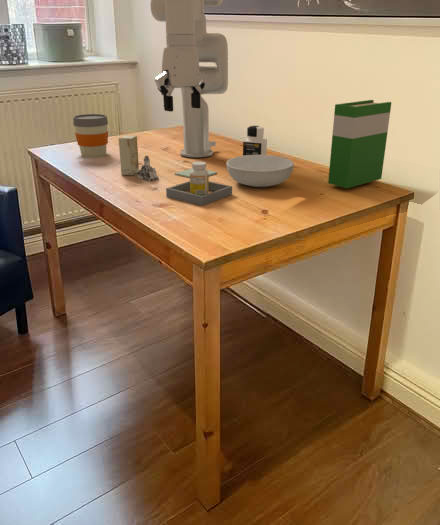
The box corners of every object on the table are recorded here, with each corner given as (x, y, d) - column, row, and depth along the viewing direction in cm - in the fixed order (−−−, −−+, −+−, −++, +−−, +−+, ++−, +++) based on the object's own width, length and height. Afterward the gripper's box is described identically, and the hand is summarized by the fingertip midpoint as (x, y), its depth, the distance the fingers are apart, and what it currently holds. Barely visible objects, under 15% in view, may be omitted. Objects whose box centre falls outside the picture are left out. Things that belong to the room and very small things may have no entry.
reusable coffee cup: (116, 158, 194) (112, 117, 188) (84, 162, 188) (79, 120, 181) (103, 152, 203) (99, 113, 197) (72, 156, 197) (67, 115, 191)
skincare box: (133, 176, 170) (130, 138, 165) (120, 175, 171) (117, 138, 166) (139, 171, 176) (137, 135, 171) (127, 170, 177) (125, 134, 172)
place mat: (194, 168, 179) (194, 167, 179) (216, 173, 173) (216, 172, 173) (174, 174, 172) (174, 173, 171) (197, 179, 166) (197, 178, 166)
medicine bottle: (242, 160, 191) (243, 127, 186) (248, 156, 197) (249, 124, 192) (260, 161, 189) (261, 128, 184) (266, 157, 195) (267, 125, 190)
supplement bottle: (200, 199, 146) (199, 166, 143) (186, 196, 150) (185, 163, 146) (212, 195, 150) (212, 162, 146) (198, 192, 153) (198, 160, 149)
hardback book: (362, 174, 172) (371, 99, 163) (381, 178, 167) (391, 102, 157) (328, 183, 162) (335, 104, 152) (346, 188, 157) (355, 107, 147)
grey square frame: (197, 186, 159) (197, 178, 158) (232, 194, 151) (232, 186, 150) (166, 196, 149) (166, 188, 148) (202, 205, 141) (202, 197, 140)
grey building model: (173, 178, 169) (172, 155, 165) (152, 183, 163) (151, 159, 160) (156, 173, 174) (155, 150, 171) (135, 178, 169) (134, 155, 166)
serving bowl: (216, 179, 167) (215, 157, 164) (272, 172, 175) (273, 152, 172) (243, 196, 150) (244, 173, 147) (305, 188, 157) (306, 166, 154)
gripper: (196, 41, 143) (197, 105, 150) (145, 42, 132) (149, 111, 139) (214, 42, 138) (214, 108, 145) (163, 42, 127) (166, 113, 134)
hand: (182, 109), depth 142 cm, fingers open, 9 cm apart
